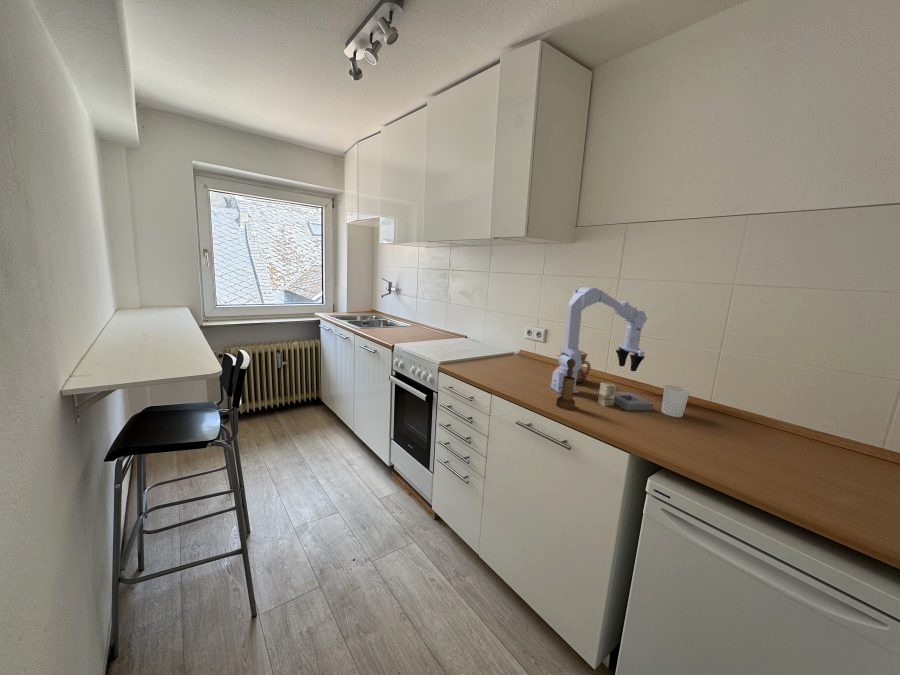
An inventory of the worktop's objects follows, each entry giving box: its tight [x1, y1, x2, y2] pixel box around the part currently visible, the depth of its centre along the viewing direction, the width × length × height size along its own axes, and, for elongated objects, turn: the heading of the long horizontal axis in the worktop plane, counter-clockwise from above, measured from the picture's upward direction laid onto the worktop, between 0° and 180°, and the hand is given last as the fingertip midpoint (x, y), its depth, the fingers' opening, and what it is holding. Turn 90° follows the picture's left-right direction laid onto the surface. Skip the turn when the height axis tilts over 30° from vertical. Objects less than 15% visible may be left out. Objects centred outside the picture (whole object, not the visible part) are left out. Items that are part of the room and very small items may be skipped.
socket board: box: [613, 391, 654, 411], centre depth 141 cm, size 11×13×2 cm
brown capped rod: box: [555, 359, 576, 410], centre depth 132 cm, size 7×6×18 cm
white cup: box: [661, 384, 690, 418], centre depth 133 cm, size 8×8×10 cm
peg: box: [597, 382, 617, 407], centre depth 138 cm, size 4×4×8 cm
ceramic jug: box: [554, 347, 592, 383], centre depth 167 cm, size 18×14×14 cm
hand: (627, 368), depth 156 cm, fingers open, 7 cm apart
